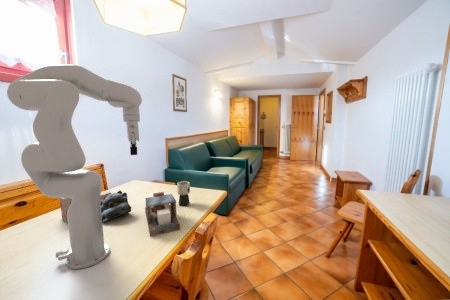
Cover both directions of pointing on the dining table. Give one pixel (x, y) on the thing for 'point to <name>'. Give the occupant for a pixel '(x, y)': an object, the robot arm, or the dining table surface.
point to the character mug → (183, 192)
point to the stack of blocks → (67, 202)
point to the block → (163, 216)
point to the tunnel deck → (151, 214)
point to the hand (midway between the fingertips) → (134, 154)
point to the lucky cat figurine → (114, 206)
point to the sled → (159, 207)
